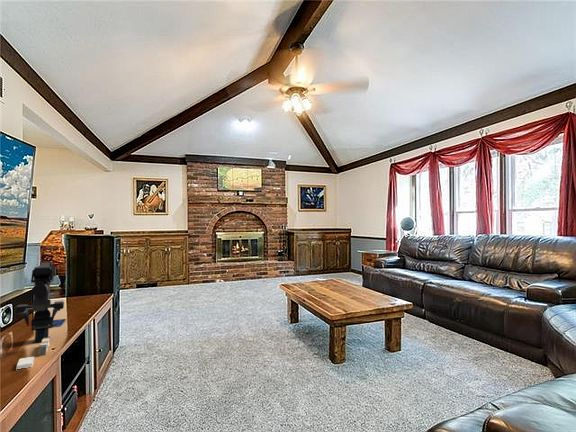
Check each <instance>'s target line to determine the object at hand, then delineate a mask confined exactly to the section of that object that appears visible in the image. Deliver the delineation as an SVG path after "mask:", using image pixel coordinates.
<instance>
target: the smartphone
mask: <svg viewBox="0 0 576 432" xmlns="http://www.w3.org/2000/svg"><path fill="white" fill-rule="evenodd" d="M66 321H67V318H61V319H54V326H53V327H52V328H61V327H62V326H64V324H65V323H66Z"/></svg>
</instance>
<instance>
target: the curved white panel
mask: <svg viewBox="0 0 576 432" xmlns="http://www.w3.org/2000/svg"><path fill="white" fill-rule="evenodd" d="M48 337H49V336H48ZM50 338H51V336H50V337H49V338H43V340H42V342H40V344H39V346H38V350H37V351H38V355H37V357H43V356H42V355H44V356H46V355H47V352H48V349H49V348H50V340H51V339H50Z"/></svg>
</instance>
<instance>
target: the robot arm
mask: <svg viewBox="0 0 576 432" xmlns="http://www.w3.org/2000/svg"><path fill="white" fill-rule="evenodd" d="M52 263H53V262H52V261H41V262H39V266H35V267H34V269H32V272H31V278H30V283H31V284H32V283H34V284H33V287H32V289H31V294H32V296H33V301H32V305H28V303H23V304H17V306H15V309H14V314H18V315H19V316H20V315H21V316H22V318H23V319H24V321H25V323H26V326H27V327H28V326H29V324H30V319H29V311H32V312H34V314H33V318H31V328H30V329H31V330H30V331H34V339H33V340H32V344H34V343H35V344H36V343H41V342H42V340H43V338H49V337H50V338H51V336H49V332H50V329H53V328H54V327H53V326H54V320H55V319H54V318H55V316H56V314H57V313H58V312H59V311H61V310H62V309H64V307H65V302H64V301H63V300H61V301H59V300H58V301H54V302H53V303H51V302H52V300H51V299H50V290H51V289H50V288H51V284H52V283H53V282H54V280H55V277H56V275H57V274H56V273H57V268H56V266H55V265H54V264H52ZM49 309H52V312H51V311H50V310H49Z"/></svg>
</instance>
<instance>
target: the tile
mask: <svg viewBox="0 0 576 432" xmlns="http://www.w3.org/2000/svg"><path fill="white" fill-rule="evenodd" d="M33 361H35V356H29V357H22V358H19V360H18V362H17V364H16V370H17V369H21V368H27V369H29V368H28V367H32V368H33V366H34V362H33Z"/></svg>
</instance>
